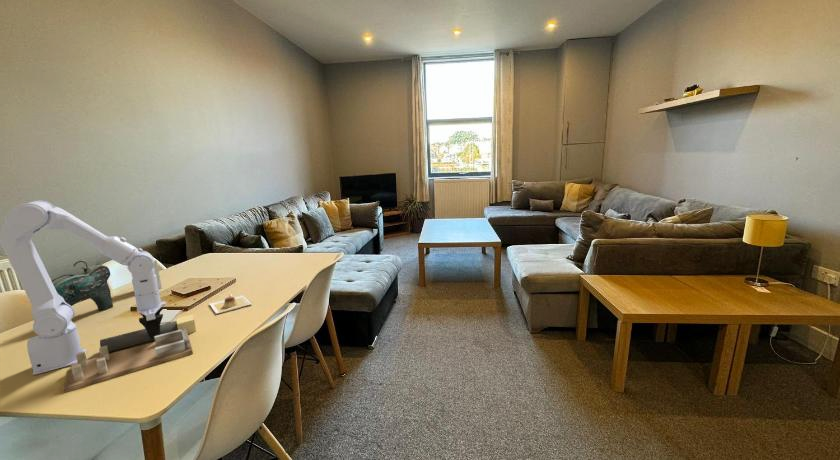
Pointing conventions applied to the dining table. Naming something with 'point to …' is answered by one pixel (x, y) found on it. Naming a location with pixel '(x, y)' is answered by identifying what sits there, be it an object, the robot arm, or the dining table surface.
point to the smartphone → (169, 315)
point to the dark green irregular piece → (86, 286)
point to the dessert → (229, 303)
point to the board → (127, 359)
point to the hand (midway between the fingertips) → (154, 333)
